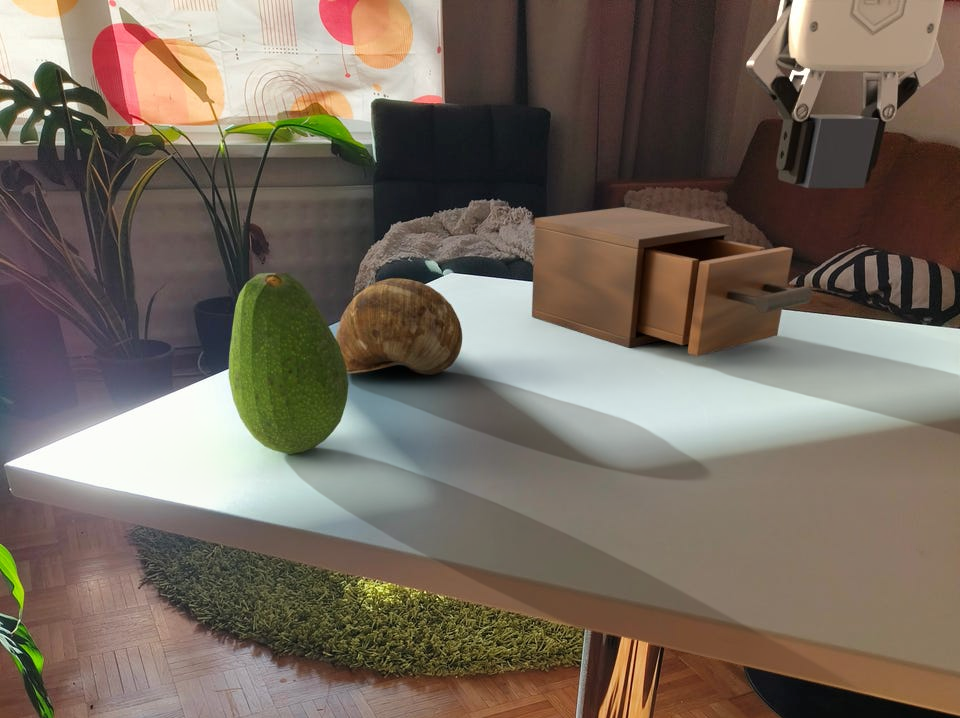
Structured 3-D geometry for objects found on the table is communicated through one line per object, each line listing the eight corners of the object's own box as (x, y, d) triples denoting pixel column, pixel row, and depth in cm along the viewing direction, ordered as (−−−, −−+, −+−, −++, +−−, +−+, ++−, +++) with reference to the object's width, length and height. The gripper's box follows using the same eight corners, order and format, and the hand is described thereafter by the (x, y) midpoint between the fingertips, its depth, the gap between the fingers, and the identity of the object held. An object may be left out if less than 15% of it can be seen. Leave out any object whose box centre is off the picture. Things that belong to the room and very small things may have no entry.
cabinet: (716, 327, 91) (731, 225, 86) (628, 347, 85) (639, 239, 80) (616, 300, 101) (624, 207, 96) (531, 316, 95) (534, 218, 90)
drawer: (819, 346, 82) (838, 256, 78) (738, 369, 77) (754, 273, 72) (672, 308, 94) (682, 228, 90) (593, 324, 89) (599, 240, 84)
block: (836, 180, 69) (849, 114, 67) (864, 187, 65) (879, 118, 63) (782, 180, 68) (793, 114, 66) (807, 188, 65) (820, 118, 62)
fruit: (375, 440, 65) (363, 265, 58) (315, 480, 59) (294, 290, 52) (283, 423, 68) (262, 255, 61) (217, 460, 62) (185, 278, 55)
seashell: (478, 366, 80) (479, 272, 76) (435, 398, 73) (432, 296, 69) (368, 352, 84) (361, 261, 79) (316, 381, 77) (306, 283, 72)
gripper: (786, -155, 53) (734, 189, 63) (1046, -144, 55) (955, 187, 65) (737, -134, 59) (697, 176, 69) (973, -125, 61) (900, 175, 71)
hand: (823, 178), depth 67 cm, fingers closed on block, 4 cm apart
